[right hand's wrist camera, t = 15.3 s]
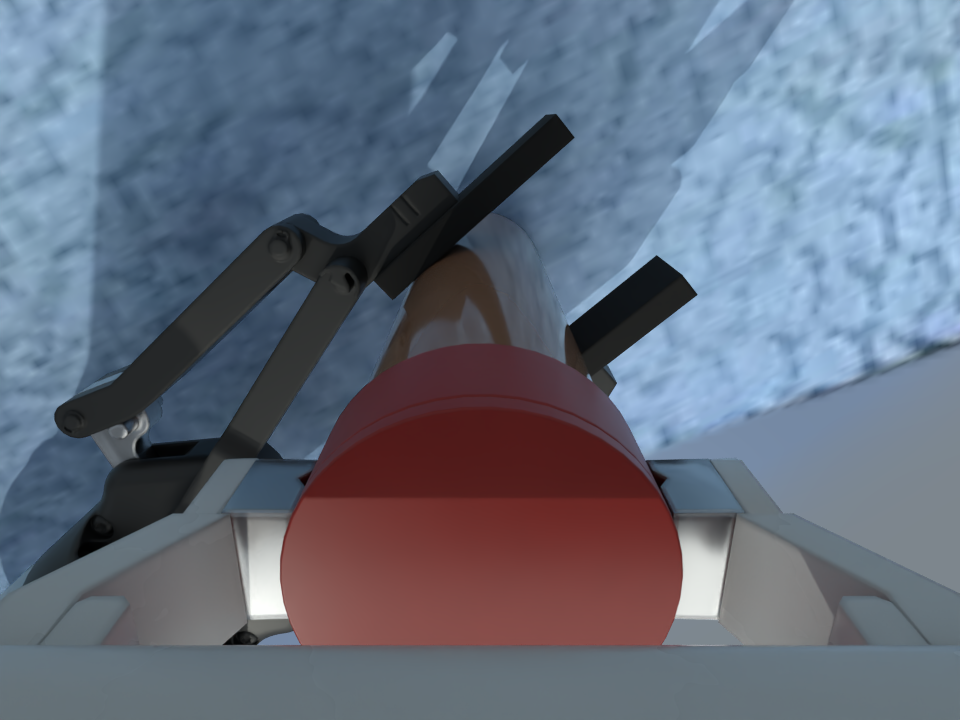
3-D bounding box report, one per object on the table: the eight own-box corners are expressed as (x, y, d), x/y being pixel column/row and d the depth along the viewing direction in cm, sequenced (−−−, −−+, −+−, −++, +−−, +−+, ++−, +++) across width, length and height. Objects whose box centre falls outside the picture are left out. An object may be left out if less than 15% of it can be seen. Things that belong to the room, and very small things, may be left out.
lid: (560, 282, 9) (584, 332, 7) (687, 550, 11) (740, 658, 9) (257, 430, 10) (195, 516, 8) (419, 658, 12) (405, 781, 10)
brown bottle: (559, 239, 25) (719, 482, 8) (511, 344, 27) (564, 728, 10) (446, 192, 24) (373, 351, 8) (404, 303, 26) (266, 637, 9)
